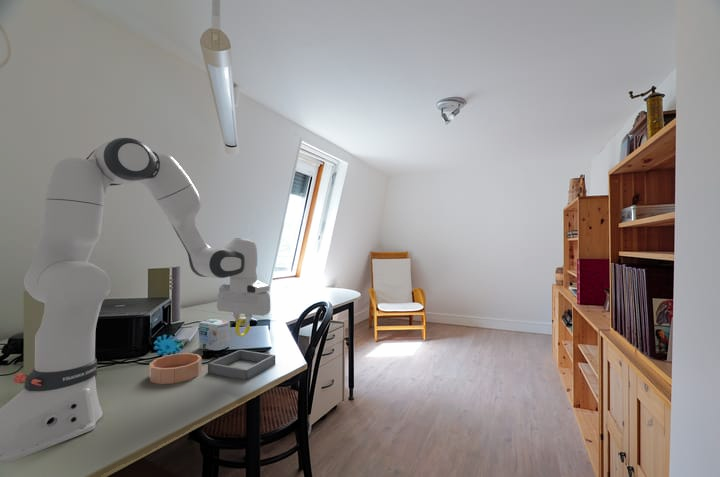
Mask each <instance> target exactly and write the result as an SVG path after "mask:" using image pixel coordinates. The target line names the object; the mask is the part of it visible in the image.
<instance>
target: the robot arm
mask: <svg viewBox="0 0 720 477" xmlns="http://www.w3.org/2000/svg"><path fill="white" fill-rule="evenodd" d="M48 182H49V183H48V186H47V191H46V194H45V202H44V211H43V219H42V226H41V233H40V237H39V239H38V243H37V245H36V249H35V252H34V254H33V257H32V260H31V264H30V268H29V269H28V271H27V272H26V274H25V275H24V278H23V284H24V287H25V290H26V292H27V293H28V295H30V296H31V298H33V299H34V300H36V301H38V302H40V303H44V310H43V315H42V319H41V322H40V326H39V329H38V330H37V332H36V333H35V335H34V367H33V369H32V371H31V372H29V374H25V373H22V372H20V373H17V374H15V375H14V376H13V378H12V381H13V382H14V383H16V384H20V385H23V384H24V388H23V389H22V390H21V391H20V392H18V393H17V394H16V395H14V397H13V398H11V399H10V400H9V401H8V402H7V403H6V404H5V405H3V406H2V407H1V408H0V464H8V463H11V462H13V461H14V462H15V461H16V460H19V459H22V458H24V457H26V456H29V455H32V454H34V453H37V452H40V451H42V450H45V449H47V448H50V447H52V446H54V445H57V444H60V443H62V442H66V441H68V440H70V439H73V438H76V437H78V436H81V435H83V434H85V433H89V432H91V431H93V430H94V429H95V428H96V423H98V421H99V420H100V419H101V418H102V416H103V414H104V413H103V410H102V407H101V405H100V401H99V396H98V391H97V384H96V379H97V374H98V360H97V358H96V328H97V323H98V319H99V315H100V312H101V308H102V306H103V305H102V304H103V302H104V301H105V299H107V297H108V295H109V294H110V292H111V288H112V281H111V278H110V276H109V274H108V273H107V272H106V271H105V270H104V269H102V268H101V267H99V266H97V265H96V264H94V263H92V262H89V259H90V257H91V255H92V251H93V249H94V247H95V245H96V244H97V243H98V242H99V240H100V238H101V236H102V225H103V218H104V217H103V216H104V206H105V195H106V192H107V189H108V188H109V187H110V186H111V187H112V186H119V185H124V184H125V185H126V184H131V183H134V182H138V183H140V184H142V185H143V186H145V187H146V188H147V190H149V191H150V193H151V195H152V196H153V198H154V200H155V201H156V203H157V204H158V206H159V207H160V209H161V210H162V211H163V213H164V214H165V216H166V217H167V219H168V221H169V222H170V224H171V225H172V229H173V230H174V232H175V233H176V235H177V237H178V239H179V241H180V242H181V244H182V245H183V248H184V249H185V252H186V253H187V255H188V260H189V261H188V262H189V267H190V269H191V271H192V272H193V273H194V274H195V276H196V275H197V276H198V277H203V278H215V279H225V278H229V284H226V283H224V284H222V285H220V287H219V288H218V295H217V299H216V300H217V301H216V309H217V310H218V311H219V312H224V313H225V312H227V313H232V314H233V316H232V317H233V318H234V320H235V325H236V324H237V322H238V320H239V318H241V316H240V315H241V314H244V317H246V319H245V321H242V322H241V323H240V326H239V327H245V328H246V327H248V326H249V323H250V321H251V319H252V317H253V316H262V317H263V316H266V315H269V313H270V312H271V296H270V293H269V291H270V285H268V284H266V283H265V282H262V281H260V280H258V275H257V266H258V249H257V245H256V243H255V241H253V240H251V239H247V238H236V237H235V238H233V239H232V240H231V241H230V242H228V243H226V244H225V245H222V246H220V247H216V248H215V247H214V248H213V247H211V246H210V245H208V244H207V243H206V241H205V240H204V238H203V236H202V234H201V231H200V230H199V228H198V226H197V224H196V216H197V215H198V213H199V211H200V210H201V206H202V200H201V197H200V194H199V192H198V190H197V189H196V186H195V185H194V183H193V181H192V180H191V179H190V177H189V176H188V174H187V172H186V171H185V169H183V167H182V166H181V165H180V164H179V163H178V161H177V160H176V159H175V158H174V157H173V156H172V155H170V154H167V153H156V152H155V151H154V150H152V149H150V148H149V146H148V145H146V144H144V143H143V142H142V141H140V140H138V139H135V138H130V137H118V138H116V139H115V138H114V139H113V140H111V141H108V142H105V143H102V144H101V145H100V146H99V147H98V148H96V149H95V150H93V151H92V152H91V153H90V154H89V155H88V156H87V157H86V158H82V157H81V158H80V157H68V158H62V159H60V160H59V161H57V162H56V164H55V165H54V167H53V169H52V173H51V175H50V177H49V181H48Z"/></svg>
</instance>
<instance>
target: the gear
mask: <svg viewBox="0 0 720 477" xmlns="http://www.w3.org/2000/svg"><path fill="white" fill-rule="evenodd" d="M167 336H168V335H167V334H163V335H162V336H158V337H156V340H155V341H154V342H153V344H154V345H155V346H153V350H154V351H156V350H157V351H156V354H157V355H158V356H160V355H161V357H163V356H167V355H173V354H179V353H181V351H182V350H183V349H182V348H181V347H182V346H183V345H184V341H181V342H179V339H178V338H177V337H176V338H175V339H173V338H174V335H171V334H170V335H169V336H168V338H167ZM178 342H179V343H178Z"/></svg>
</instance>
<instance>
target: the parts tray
mask: <svg viewBox="0 0 720 477" xmlns="http://www.w3.org/2000/svg"><path fill="white" fill-rule="evenodd" d="M239 360H247V361H250V362H251V361H252V362H257V363H256V364H253V365H251V366H250V367H247V368H243V367H242V368H241V367H236V366H230V364H232V363H234V362H237V361H239ZM275 364H276V355H275V354H270V353H269V354H268V353H263V352H257V351H251V350H245V349H239V350H236V351H234V352H231V353H230V354H227V355H225V356H222V357H220V358H218V359H214V360H212V361H211V362H208V363H207V373H209V374H214V375H219V376H224V377H230V378H235V379H239V380H244V381H247V380H249V379H250V378H252V377H254V376H256V375H257V374H259V373H261V372H263V371H264V370H266V369H269V368H270V367H272V366H274V365H275Z"/></svg>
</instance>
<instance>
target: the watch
mask: <svg viewBox="0 0 720 477" xmlns="http://www.w3.org/2000/svg"><path fill="white" fill-rule="evenodd" d="M245 319H246V317H245V316H244V317H243V316H242V317H241V316H240V318H239V320H238V322H237V324H236V323H235V328H234V330H235V334H236V336H238V337H242V336H245V335H247V334H248V333H249V331H250V329H251V328H250V327H251V326H250V322H249V326H248V327H245V330H244V331H243V332H242V333H240V327H241V326H240V323H241V322H242V321H245Z"/></svg>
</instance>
